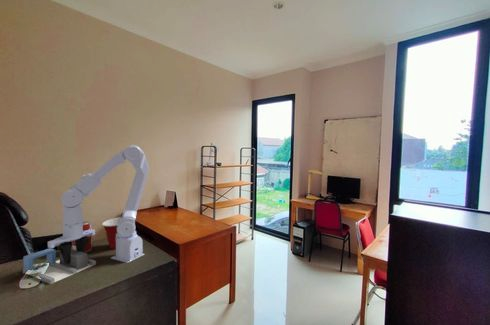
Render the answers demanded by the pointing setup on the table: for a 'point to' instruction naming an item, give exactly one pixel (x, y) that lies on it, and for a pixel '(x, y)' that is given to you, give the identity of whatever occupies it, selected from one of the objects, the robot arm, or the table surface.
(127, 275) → the table surface
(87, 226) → the soda can
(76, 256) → the grey rectangular block
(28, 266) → the sliding block fixture
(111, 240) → the plastic cup
